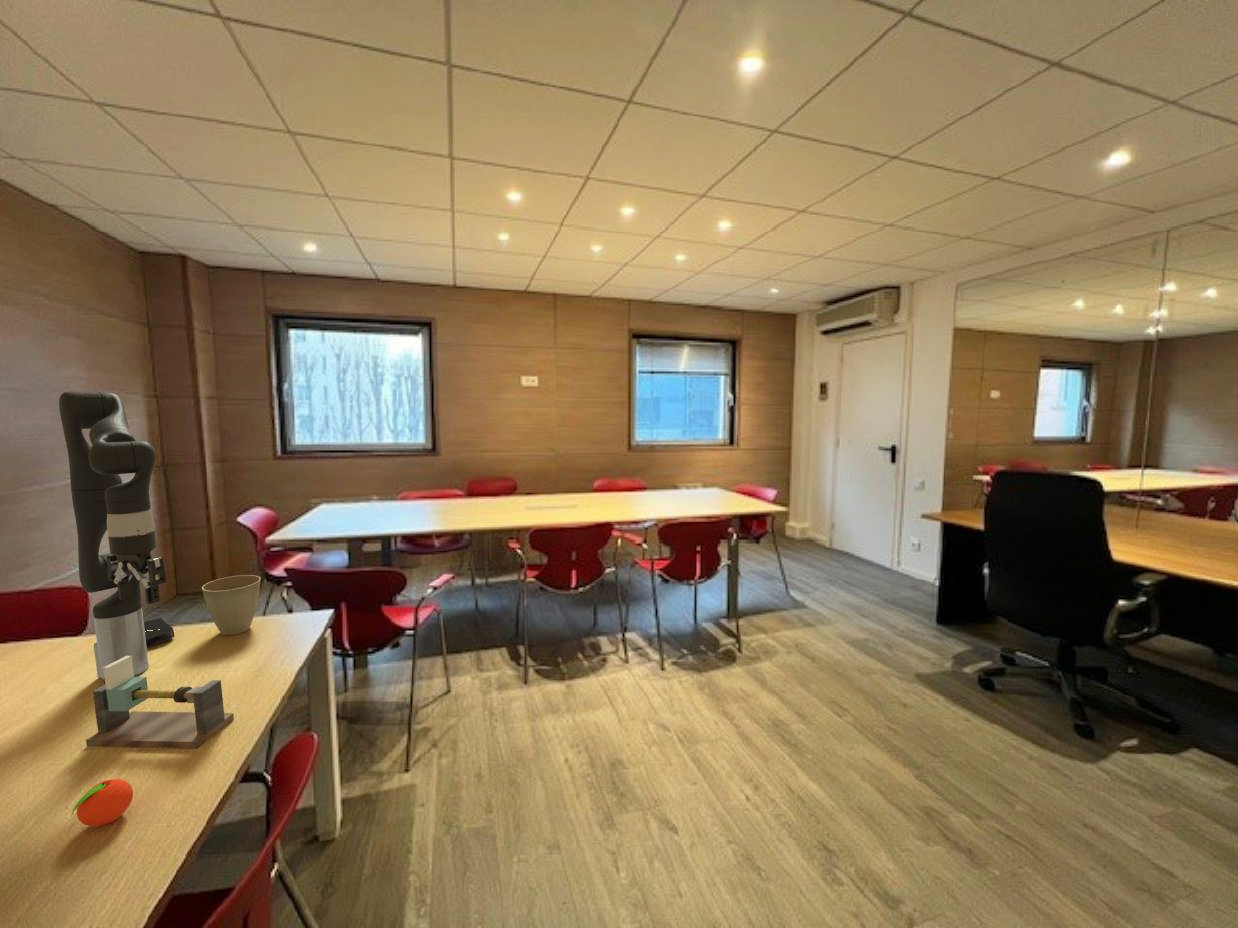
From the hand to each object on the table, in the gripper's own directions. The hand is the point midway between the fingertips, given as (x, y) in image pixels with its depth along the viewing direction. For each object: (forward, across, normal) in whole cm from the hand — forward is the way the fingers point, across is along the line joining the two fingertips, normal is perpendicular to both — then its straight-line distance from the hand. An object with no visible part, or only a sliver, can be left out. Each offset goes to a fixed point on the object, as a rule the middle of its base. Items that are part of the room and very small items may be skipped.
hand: (139, 600), depth 115 cm
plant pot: (+29, -25, +39) cm, 55 cm away
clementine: (+28, +27, -24) cm, 46 cm away
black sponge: (+29, -45, +28) cm, 60 cm away
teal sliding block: (+21, +3, -5) cm, 22 cm away
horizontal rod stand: (+28, +9, -4) cm, 30 cm away
